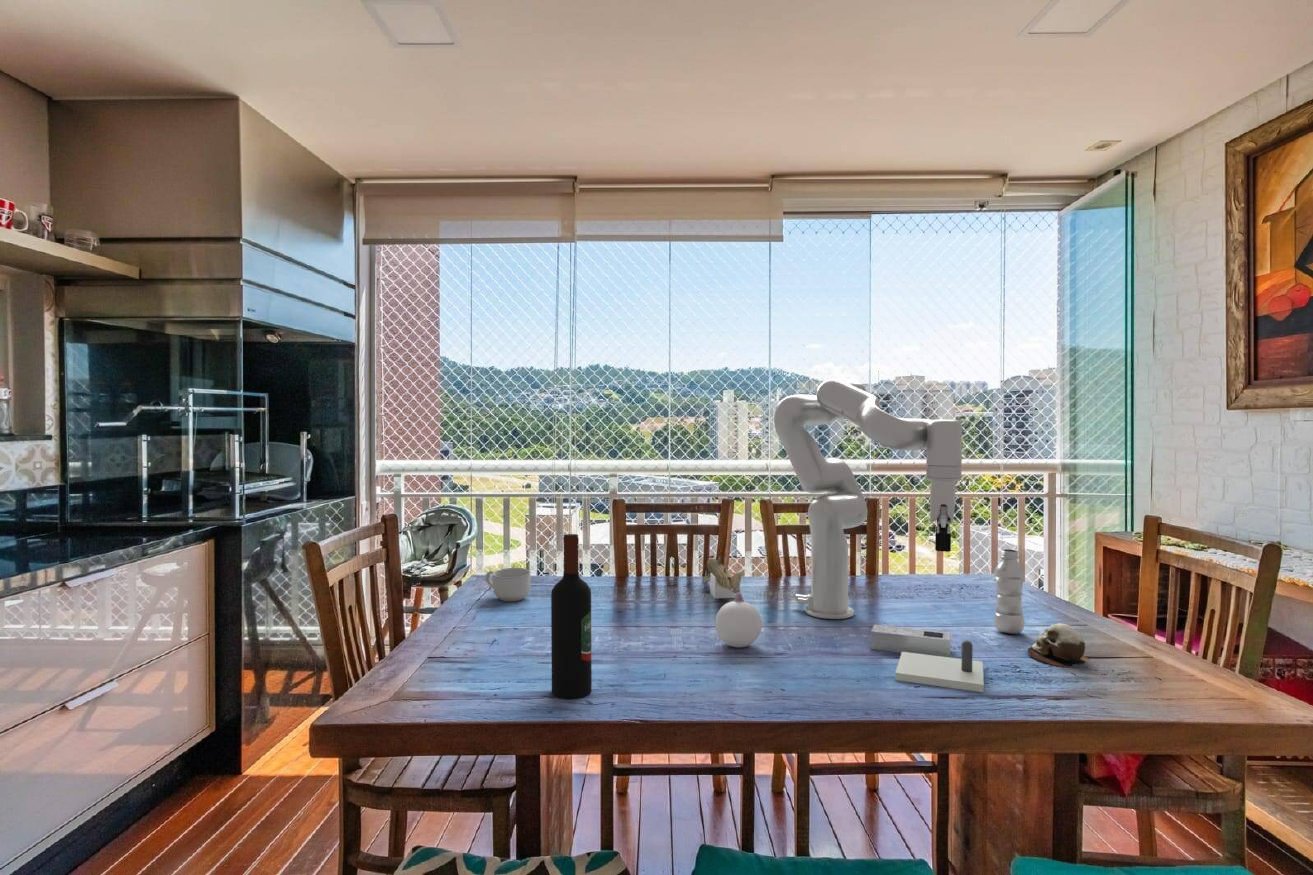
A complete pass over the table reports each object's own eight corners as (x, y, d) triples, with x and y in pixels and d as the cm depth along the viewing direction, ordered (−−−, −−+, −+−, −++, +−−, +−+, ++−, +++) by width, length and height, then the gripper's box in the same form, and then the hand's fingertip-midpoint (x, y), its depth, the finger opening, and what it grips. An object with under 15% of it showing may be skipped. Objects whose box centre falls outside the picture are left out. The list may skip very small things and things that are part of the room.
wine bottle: (552, 684, 142) (552, 532, 141) (591, 683, 142) (591, 531, 142) (550, 699, 134) (549, 538, 133) (591, 698, 135) (590, 538, 134)
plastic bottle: (1027, 637, 172) (1029, 553, 171) (997, 635, 173) (998, 552, 172) (1020, 629, 178) (1021, 548, 177) (990, 628, 179) (991, 547, 179)
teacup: (538, 597, 210) (538, 570, 210) (512, 605, 201) (512, 577, 201) (503, 591, 217) (503, 564, 217) (476, 599, 208) (476, 571, 208)
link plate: (870, 648, 163) (871, 631, 163) (874, 641, 169) (874, 624, 169) (949, 658, 157) (949, 640, 157) (950, 650, 162) (950, 632, 162)
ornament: (735, 636, 173) (735, 586, 172) (770, 646, 166) (770, 594, 165) (706, 646, 166) (706, 593, 165) (741, 656, 158) (742, 602, 158)
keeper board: (895, 680, 144) (895, 642, 144) (901, 658, 157) (902, 624, 157) (983, 692, 138) (983, 653, 138) (982, 668, 151) (983, 633, 150)
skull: (1011, 649, 160) (1032, 611, 163) (1035, 676, 163) (1056, 638, 166) (1062, 665, 149) (1084, 623, 152) (1087, 692, 152) (1108, 652, 155)
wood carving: (723, 614, 192) (723, 572, 192) (697, 584, 227) (697, 548, 226) (756, 613, 193) (756, 571, 193) (725, 583, 228) (725, 547, 228)
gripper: (926, 470, 176) (926, 540, 176) (925, 475, 159) (924, 553, 160) (960, 471, 173) (959, 542, 173) (962, 476, 157) (961, 555, 157)
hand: (942, 547), depth 167 cm, fingers open, 9 cm apart
